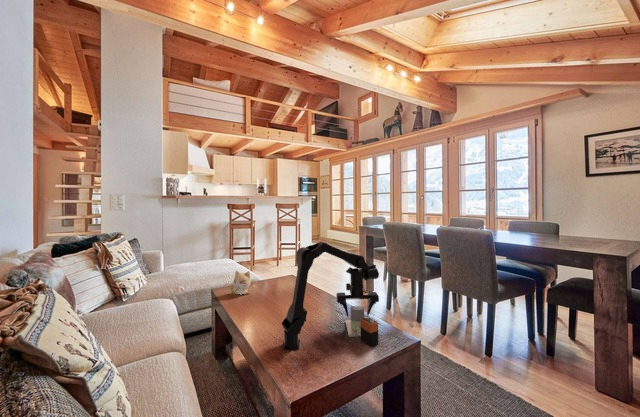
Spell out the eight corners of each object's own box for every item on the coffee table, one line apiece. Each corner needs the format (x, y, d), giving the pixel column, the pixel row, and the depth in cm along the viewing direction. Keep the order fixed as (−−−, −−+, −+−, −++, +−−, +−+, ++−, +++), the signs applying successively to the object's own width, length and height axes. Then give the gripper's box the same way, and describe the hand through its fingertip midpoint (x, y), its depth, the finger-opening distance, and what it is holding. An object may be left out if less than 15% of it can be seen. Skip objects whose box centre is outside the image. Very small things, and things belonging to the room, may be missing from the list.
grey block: (364, 327, 115) (364, 313, 115) (350, 327, 116) (350, 313, 116) (364, 315, 127) (363, 303, 127) (351, 315, 128) (351, 302, 128)
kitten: (226, 296, 169) (226, 272, 169) (236, 290, 179) (235, 268, 179) (247, 297, 165) (246, 273, 165) (256, 292, 175) (255, 269, 174)
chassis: (371, 336, 115) (371, 328, 115) (348, 336, 115) (348, 328, 115) (366, 321, 129) (366, 314, 129) (345, 322, 129) (345, 314, 129)
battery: (368, 337, 114) (367, 314, 114) (379, 344, 108) (378, 320, 108) (360, 339, 112) (359, 316, 112) (370, 347, 106) (370, 322, 106)
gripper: (373, 276, 129) (374, 308, 130) (335, 277, 129) (336, 309, 130) (378, 283, 118) (379, 318, 119) (336, 284, 118) (337, 319, 119)
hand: (357, 315), depth 122 cm, fingers open, 9 cm apart
